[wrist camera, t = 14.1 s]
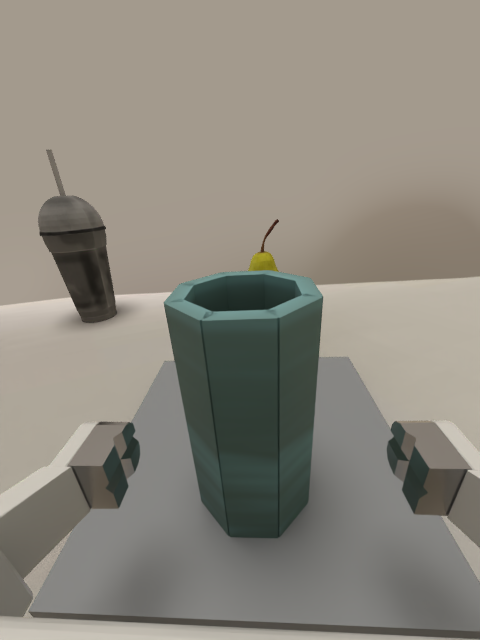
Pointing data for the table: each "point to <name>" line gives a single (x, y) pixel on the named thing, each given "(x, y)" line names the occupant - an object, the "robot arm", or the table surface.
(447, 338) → the table surface
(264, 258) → the fruit
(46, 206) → the beverage cup
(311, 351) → the sleeve
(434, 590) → the pin board
